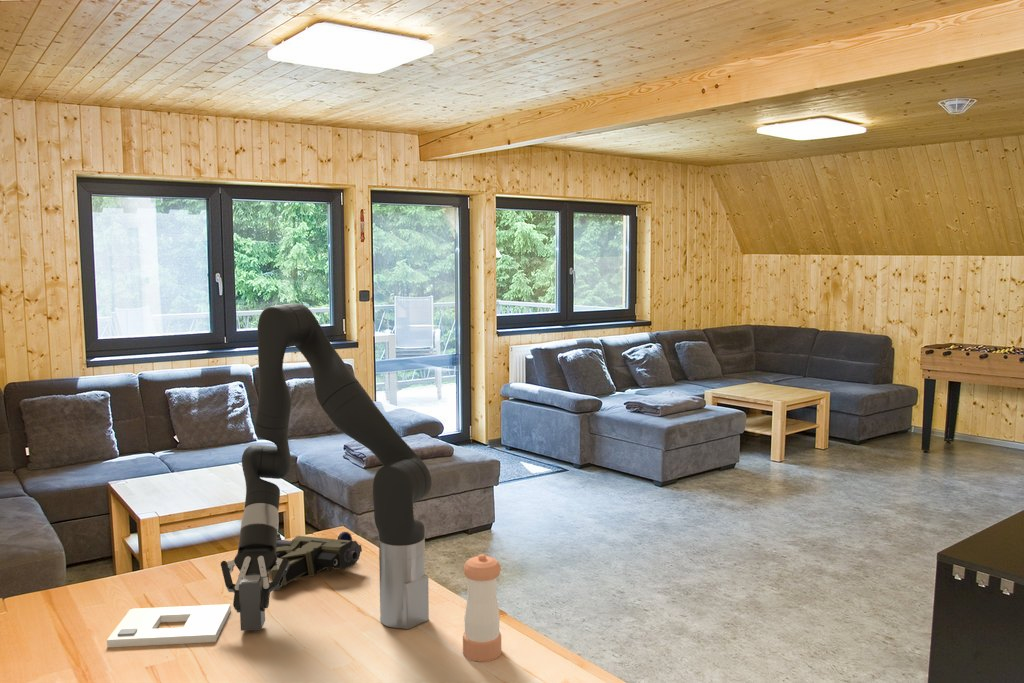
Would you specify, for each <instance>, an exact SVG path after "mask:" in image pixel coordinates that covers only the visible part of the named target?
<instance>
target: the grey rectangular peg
mask: <svg viewBox="0 0 1024 683" xmlns="http://www.w3.org/2000/svg"><path fill="white" fill-rule="evenodd" d="M262 582H263V577H261V575H248V576H244V578H242V579H241V581H240V583H239V601H240V612H239V620H240V622H239V623H240V631H243V632H244V631H245V632H246V631H258V630H259V631H260V630H262V629H263V627H264V625H265V622H266V610H265V611H261V610H260V602H261V593H262V590H263V584H262Z"/></svg>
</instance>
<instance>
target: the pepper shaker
mask: <svg viewBox="0 0 1024 683" xmlns="http://www.w3.org/2000/svg"><path fill="white" fill-rule="evenodd" d="M463 565H464V566H463V569H462V571H463V574H464V575H465V577H466V579H467V587H466V588H467V593H466V594H467V599H466V605H465V610H464V612H465V613H464V620H463V622H464V632H463V634H462V654H463V657H465V658H466V659H467V660H469V661H473V662H480V663H481V662H484V663H485V662H491V661H493V660H496V659H497V658H499V657H500V656H501V655H502V634H501V632H500V622H501V621H500V620H501V618H500V617H501V616H500V610H499V603H498V598H497V595H498V594H497V593H498V592H497V590H498V589H497V584H498V583H497V578H498V577H499V575H500V573H501V570H502V568H501V564H500V563H499V561H498V560H497V559H496V558H494V557H491V556H487V555H486V554H483V553H481V554H478V555H477V556H473V557H470V558H469V559H467V560H466V562H465V563H464V564H463Z"/></svg>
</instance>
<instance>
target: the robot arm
mask: <svg viewBox="0 0 1024 683" xmlns="http://www.w3.org/2000/svg"><path fill="white" fill-rule="evenodd" d="M291 347H295V348H297V349H298V351H299V352H300V353H301V354H302V355H303V357H304V359H305V360H306V362H308V365H309V366H310V368H311V371H312V375H313V382H314V383H313V384H314V391H315V392H314V393H315V395H316V399H317V402H318V403H319V405H320V407H321V408H322V409H323V411H324V413H325V414H326V415H327V417H328V418H329V419H330V421H331V422H332V423H333V425H334V426H335V427H336V428H337V429H338V430H339V431H341V433H344V435H347V436H348V437H349V438H351V439H352V440H355V441H356V442H358V443H359V444H361V445H362V446H364V447H365V448H367V449H368V450H369V451H370V452H372V454H373V455H374V456H375V457H376V458H377V459H378V460H379V461H380V463H381V465H382V466H381V467H379V469H378V470H377V471H376V472H375V474H374V478H373V482H372V498H373V501H372V502H373V515H374V516H373V517H374V524H375V527H376V529H377V531H378V543H379V544H378V545H379V546H378V548H379V550H378V553H379V554H378V556H379V560H378V562H379V614H380V616H379V618H380V619H379V620H380V622H381V623H382V624H383V625H384V626H386V627H389V628H392V629H394V628H395V629H404V630H410V629H412V628H414V627H415V626H419V625H420V624H422V623H425V622H427V621H429V620H430V619H429V617H430V616H429V614H430V613H429V612H430V610H429V609H430V608H429V606H430V604H429V603H430V602H429V590H430V588H429V575H427V574H426V572H425V571H426V562H425V560H426V559H425V556H426V555H425V554H426V553H425V551H426V550H425V547H426V546H425V542H426V540H425V537H426V536H425V531H426V530H425V525H424V523H423V522H422V521H421V520H419V519H418V518H417V519H416V518H415V515H414V503H416V502H418V501H420V500H422V499H423V498H425V497H427V495H428V494H429V493H430V491H431V488H432V484H433V483H432V475H431V473H430V471H429V468H428V466H427V465H426V464H425V462H424V461H423V460H422V458H421V457H419V456H418V455H419V454H417V453H416V452H415V451H414V450H413V448H411V447H410V446H409V444H407V442H406V441H405V440H404V439H403V438H402V437H401V436H400V435H399V434H398V433H397V431H396V430H395V429H394V428H393V426H392V425H391V423H390V422H389V421H388V419H387V418H386V417H385V415H384V414H383V413H382V412H381V410H380V409H379V408H378V406H377V405H376V404H375V403H374V401H373V399H372V398H371V396H370V395H369V393H368V392H367V391H366V390H365V389H364V387H363V386H362V384H361V383H360V382H359V380H358V379H357V378H356V377H355V375H354V374H353V373H352V372H351V370H350V369H349V367H348V365H347V364H346V363H345V362H344V361H343V359H342V357H341V356H340V355H339V353H338V352H337V351H336V349H335V348H334V346H333V344H332V343H331V341H330V340H329V338H328V336H327V335H326V333H325V331H324V330H323V328H322V325H321V324H320V322H319V321H318V319H317V317H316V316H315V315H314V312H312V311H311V310H310V308H308V307H307V306H306V305H304V304H301V303H297V302H294V303H293V302H291V303H284V304H275V305H270V306H267V307H266V308H264V309H263V310H262V312H261V313H260V315H259V317H258V323H257V357H258V359H257V360H258V382H259V384H258V385H259V386H258V387H259V388H258V399H257V406H256V407H257V408H256V415H255V421H254V422H255V424H254V433H255V434H256V436H257V437H258V438H260V439H263V440H265V441H269V442H270V443H274V446H272V445H263V444H262V445H260V444H253V445H252V444H251V445H249V446H248V447H246V448H245V449H244V451H243V453H242V456H241V467H242V472H243V476H244V480H245V498H244V499H245V500H244V510H243V514H242V516H241V523H240V531H239V538H238V539H239V540H238V547H237V553H236V555H235V557H234V558H233V559H232V560H229V561H226V560H223V561H221V562H220V567H221V571H222V576H223V581H224V584H225V588H226V590H227V592H228V593H233V594H234V595H233V603H232V606H233V608H234V610H235V611H236V613H237V614H240V601H239V583H240V581H241V579H242V578H244V576H248V575H261V577H263V582H262V584H263V590H262V593H261V602H260V610H261V611H265V612H266V609H268V608H269V605H270V595H271V592H273V591H279V590H280V588H281V587H282V586H281V585H282V582H283V580H284V578H285V576H286V573H287V571H288V569H289V567H290V564H289V561H288V559H287V558H284V559H280V558H277V555H276V545H277V534H278V533H279V527H280V526H279V523H280V522H279V521H280V518H279V508H280V497H281V490H280V487H279V486H278V484H275V483H274V482H271V481H269V480H265V479H273V480H274V479H275V480H276V479H277V480H279V479H280V480H281V479H283V478H286V477H287V476H288V475H289V473H290V471H291V469H292V457H291V450H290V447H289V446H290V444H289V435H288V433H289V425H290V417H291V409H292V398H291V394H290V393H291V392H290V390H289V387H288V384H287V382H286V379H285V374H284V368H283V367H284V358H285V354H286V351H287V348H291ZM263 478H264V479H263ZM275 564H277V568H278V571H277V573H276V575H275V578H274V580H273V582H272V581H270V578H269V573H271V572H270V570H271V569H272V568H273V567H274V566H275ZM234 567H236V568H237V569H238V570H239V573H238V575H237V576H238V577H237V579H236V583H233V579H232V574H231V573H233V572H234Z"/></svg>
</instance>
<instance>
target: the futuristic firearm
mask: <svg viewBox="0 0 1024 683" xmlns="http://www.w3.org/2000/svg"><path fill="white" fill-rule="evenodd" d="M361 552H363V550H362V544H359V543H358V542H357V541H356V540H353V537H352V535H351V533H350V532H349V531H342V532H340V533H339V535H338V536H337V539H336V538H325V537H315V536H305V535H296V536H295V537H293V539H292V540H286V539H285V540H284V539H283V540H282V537H281V533H280V532H278V534H277V545H276V555H277V558H280V559H284V558H287V559H288V561H289V564H290V567H289V569H288V571H287V573H286V576H285V578H284V580H283V582H282V585H281V587H284V586H287V585H288V584H289V583H291V582H293V581H294V580H298V579H303V578H310V577H313V576H315V575H317V574H318V573H319V572H321V571H323V570H324V569H327V571H328V570H329V569H330V570H331V569H337V570H342V571H344V570H346V569H348V568H350V567H352V566H354V565H355V564H356V563H357V562H358V561H359V560H360V556H361ZM277 571H278V568H277V564H275V566H274V567H273V568H272V569H271V570H270V572H269V573H270V576H271V577H270V579H271V582H273V580H274V578H275V575H276V573H277Z"/></svg>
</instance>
